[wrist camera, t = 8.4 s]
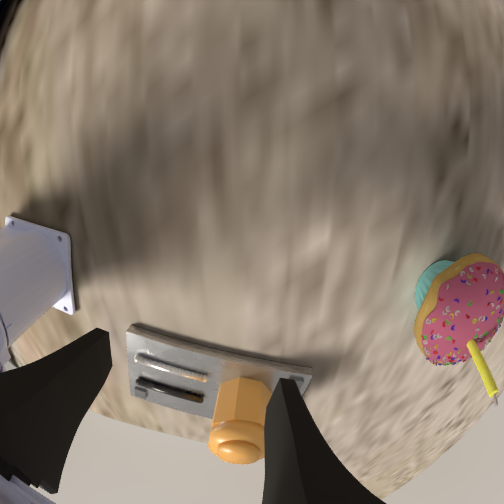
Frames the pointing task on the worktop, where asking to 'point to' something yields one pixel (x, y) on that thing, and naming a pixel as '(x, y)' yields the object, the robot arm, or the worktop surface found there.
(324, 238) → the worktop surface
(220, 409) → the acorn cap nut
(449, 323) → the cupcake
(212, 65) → the worktop surface
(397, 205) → the worktop surface
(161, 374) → the plate
